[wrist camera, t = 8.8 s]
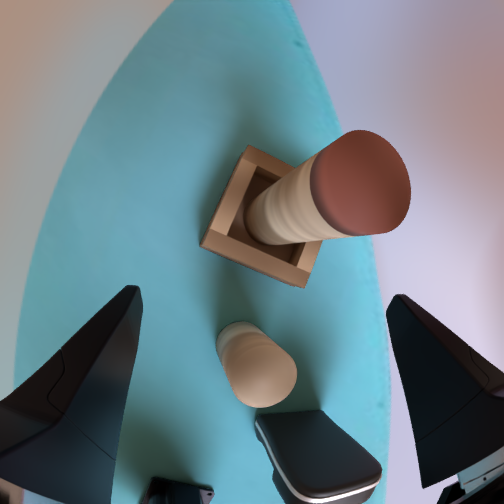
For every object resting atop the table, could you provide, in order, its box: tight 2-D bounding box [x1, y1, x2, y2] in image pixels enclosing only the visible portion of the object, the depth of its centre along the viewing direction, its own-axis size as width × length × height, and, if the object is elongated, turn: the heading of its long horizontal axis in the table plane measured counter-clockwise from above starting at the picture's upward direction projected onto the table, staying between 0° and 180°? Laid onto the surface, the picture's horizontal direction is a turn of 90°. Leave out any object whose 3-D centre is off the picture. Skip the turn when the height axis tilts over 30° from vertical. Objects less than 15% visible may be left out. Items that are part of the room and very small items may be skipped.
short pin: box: [216, 321, 297, 408], centre depth 19 cm, size 4×4×7 cm
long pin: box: [243, 130, 411, 246], centre depth 16 cm, size 4×4×13 cm
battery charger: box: [255, 410, 382, 504], centre depth 18 cm, size 7×4×11 cm, turn 83°
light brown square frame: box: [199, 145, 323, 288], centre depth 22 cm, size 8×8×3 cm
